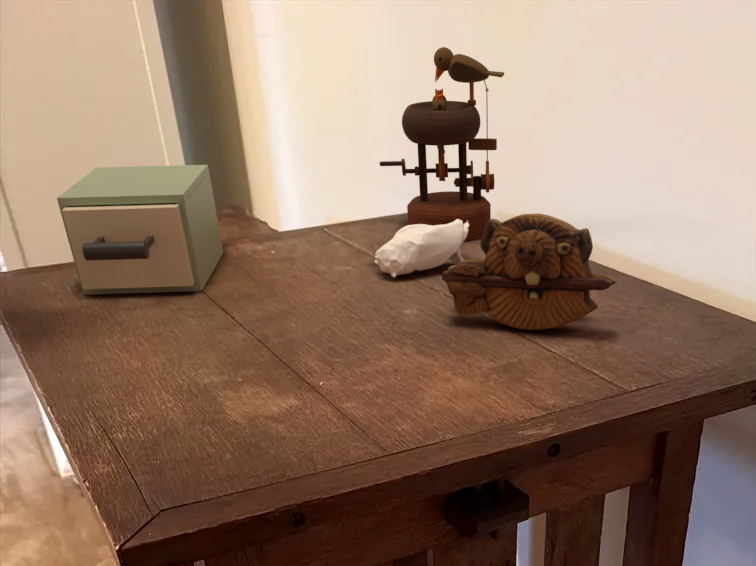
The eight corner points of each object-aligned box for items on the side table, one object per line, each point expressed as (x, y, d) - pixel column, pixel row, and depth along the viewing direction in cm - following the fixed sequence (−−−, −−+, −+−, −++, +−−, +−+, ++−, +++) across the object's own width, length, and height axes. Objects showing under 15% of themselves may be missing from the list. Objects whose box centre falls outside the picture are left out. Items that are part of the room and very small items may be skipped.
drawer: (183, 301, 93) (165, 219, 88) (69, 305, 92) (45, 222, 88) (214, 250, 107) (200, 177, 103) (115, 253, 107) (97, 180, 102)
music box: (492, 216, 122) (495, 39, 108) (510, 246, 114) (516, 58, 100) (378, 223, 119) (367, 43, 106) (389, 253, 111) (377, 63, 98)
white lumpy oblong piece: (440, 270, 107) (365, 262, 102) (456, 210, 103) (379, 199, 98) (461, 288, 105) (385, 282, 99) (478, 229, 101) (400, 218, 95)
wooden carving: (438, 330, 88) (434, 219, 82) (450, 315, 91) (446, 207, 85) (609, 342, 85) (618, 227, 79) (615, 325, 88) (623, 214, 82)
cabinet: (201, 291, 98) (182, 194, 92) (83, 294, 98) (56, 197, 92) (223, 253, 110) (207, 164, 104) (117, 256, 109) (95, 167, 103)
